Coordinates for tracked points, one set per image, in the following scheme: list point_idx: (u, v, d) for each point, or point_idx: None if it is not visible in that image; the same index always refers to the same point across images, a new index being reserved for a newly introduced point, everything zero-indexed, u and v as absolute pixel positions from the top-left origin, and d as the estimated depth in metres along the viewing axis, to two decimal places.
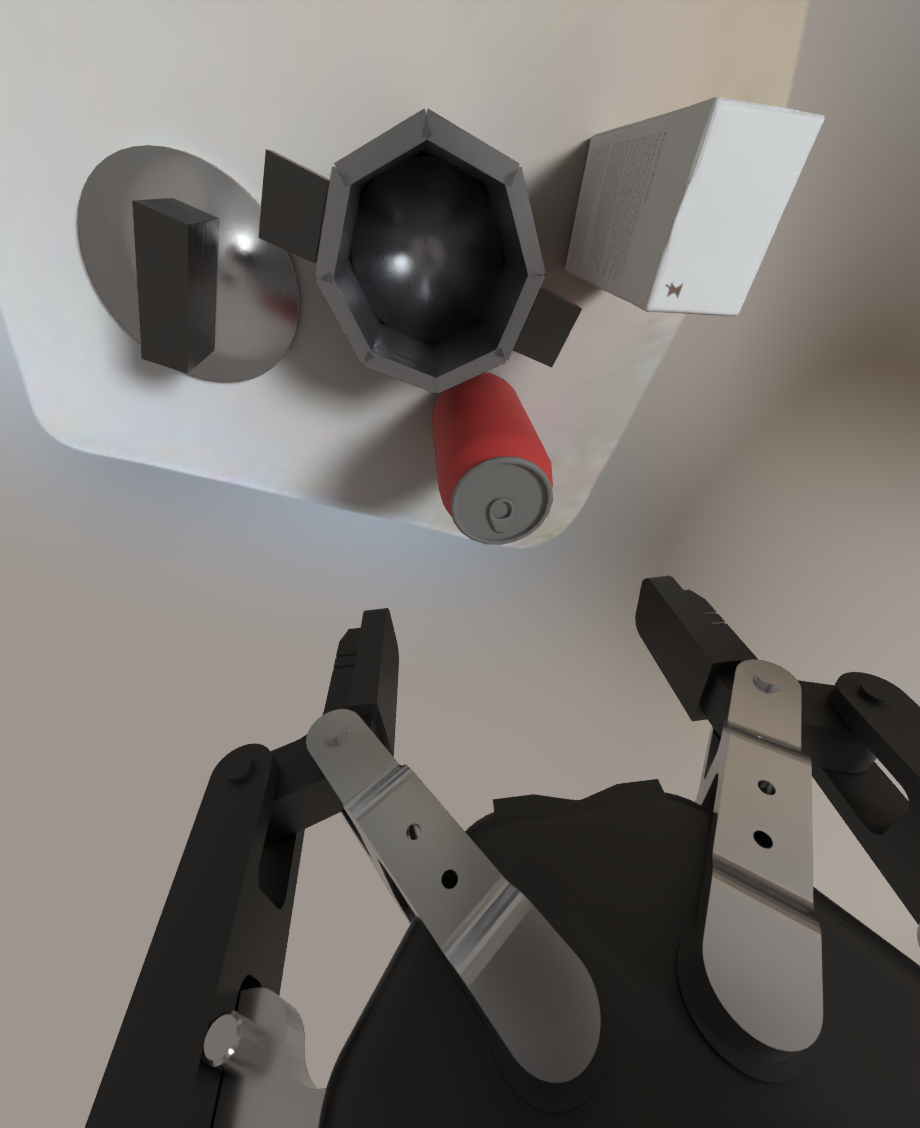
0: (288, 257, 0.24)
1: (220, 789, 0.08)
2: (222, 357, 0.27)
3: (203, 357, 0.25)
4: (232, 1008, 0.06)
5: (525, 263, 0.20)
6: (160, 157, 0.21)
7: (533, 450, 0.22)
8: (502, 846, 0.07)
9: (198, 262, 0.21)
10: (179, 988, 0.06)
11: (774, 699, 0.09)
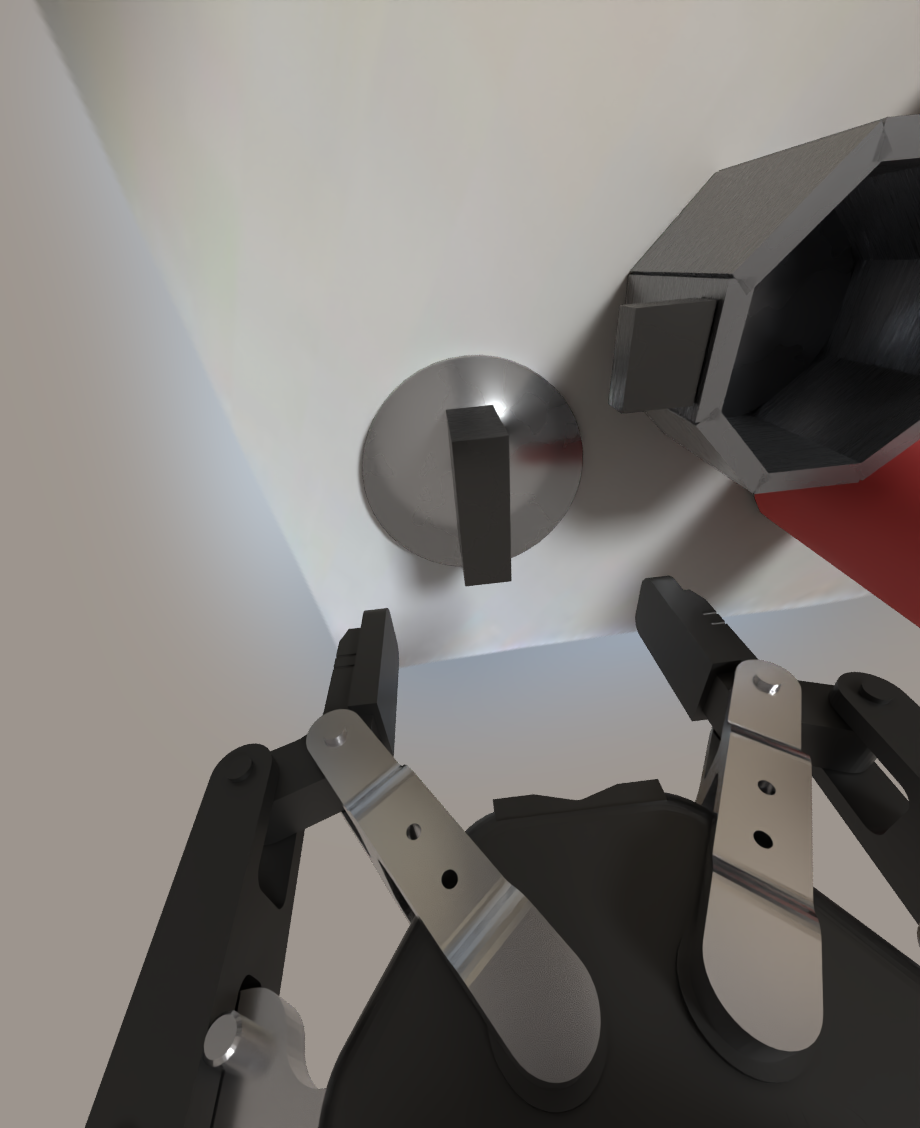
0: (567, 405, 0.20)
1: (220, 789, 0.08)
2: None
3: None
4: (232, 1008, 0.06)
5: None
6: (430, 378, 0.19)
7: None
8: (502, 846, 0.07)
9: None
10: (179, 988, 0.06)
11: (774, 699, 0.09)
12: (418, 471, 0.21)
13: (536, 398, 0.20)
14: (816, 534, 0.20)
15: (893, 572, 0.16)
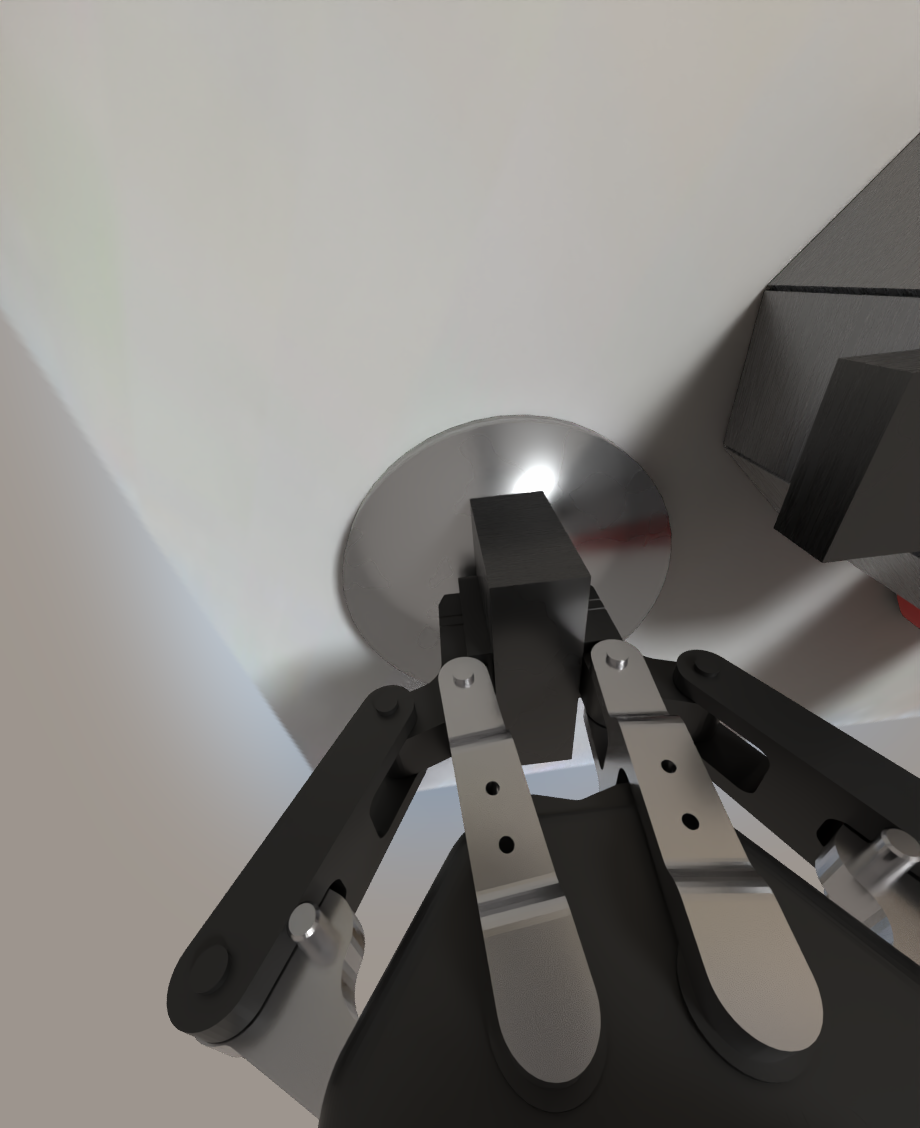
0: (655, 488, 0.13)
1: (368, 714, 0.09)
2: None
3: None
4: (319, 899, 0.07)
5: None
6: (447, 454, 0.12)
7: None
8: None
9: None
10: (290, 859, 0.07)
11: (617, 673, 0.10)
12: (426, 581, 0.14)
13: (610, 480, 0.13)
14: None
15: None
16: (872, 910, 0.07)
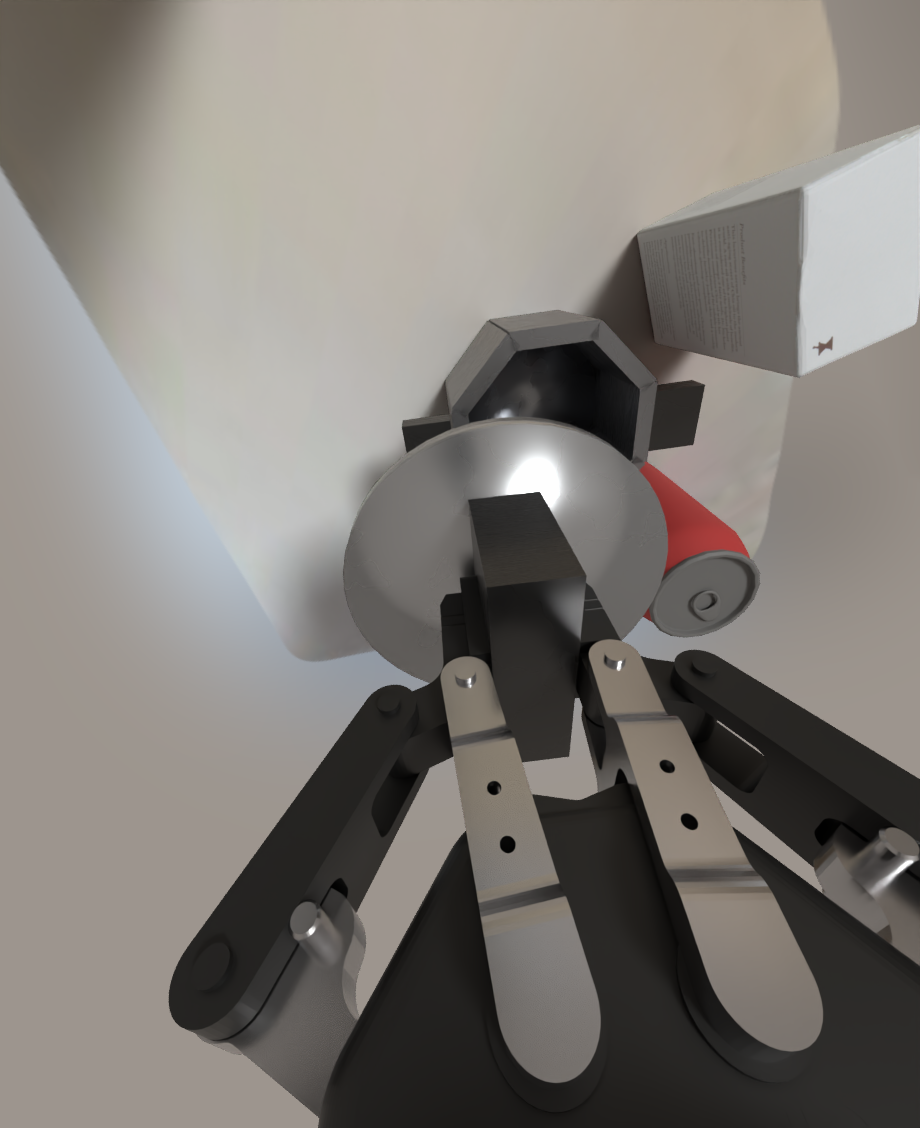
0: (651, 488, 0.13)
1: (370, 713, 0.09)
2: None
3: None
4: (320, 898, 0.07)
5: (633, 382, 0.20)
6: (446, 456, 0.12)
7: (715, 534, 0.21)
8: None
9: None
10: (292, 857, 0.07)
11: (614, 673, 0.10)
12: (426, 581, 0.14)
13: (607, 481, 0.13)
14: None
15: None
16: (870, 909, 0.07)
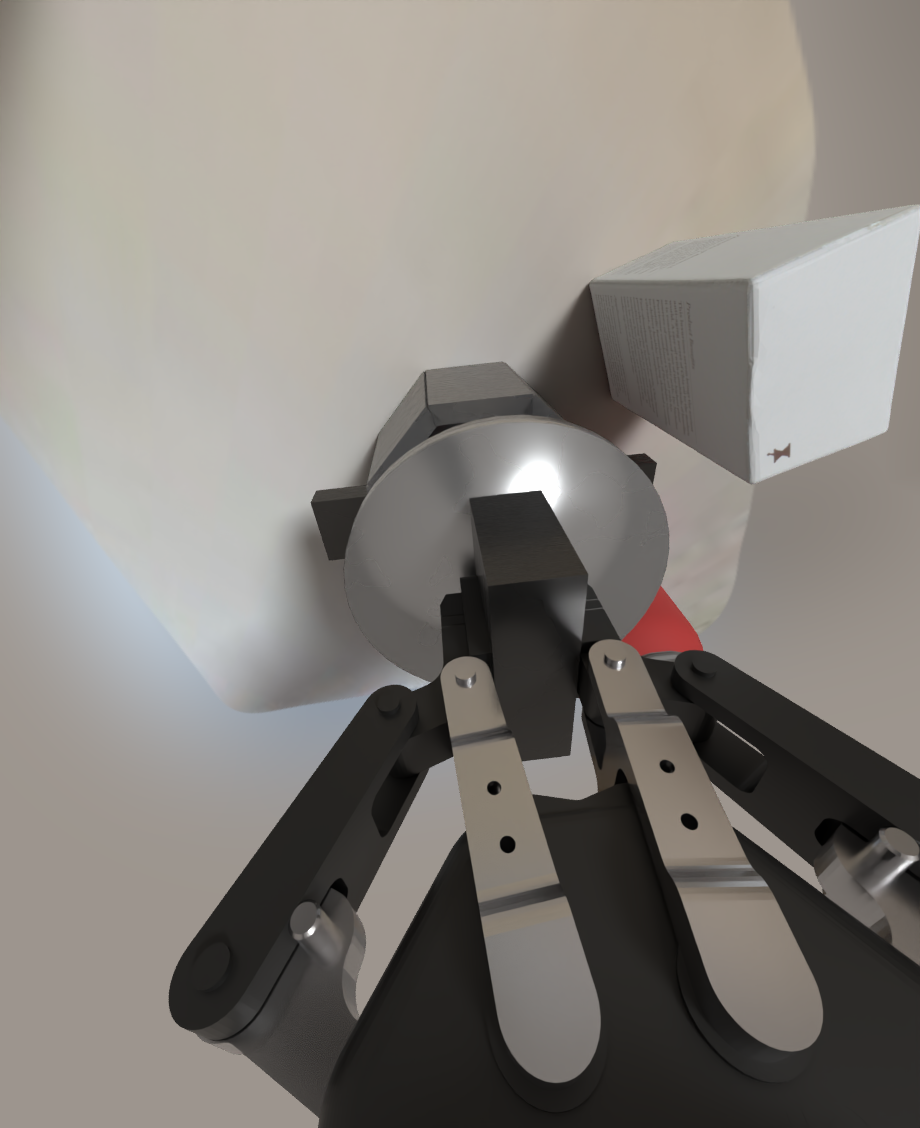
0: (652, 487, 0.13)
1: (370, 713, 0.09)
2: None
3: None
4: (320, 898, 0.07)
5: None
6: (447, 454, 0.12)
7: (665, 631, 0.19)
8: None
9: None
10: (292, 857, 0.07)
11: (614, 673, 0.10)
12: (427, 579, 0.14)
13: (608, 479, 0.13)
14: None
15: None
16: (870, 909, 0.07)
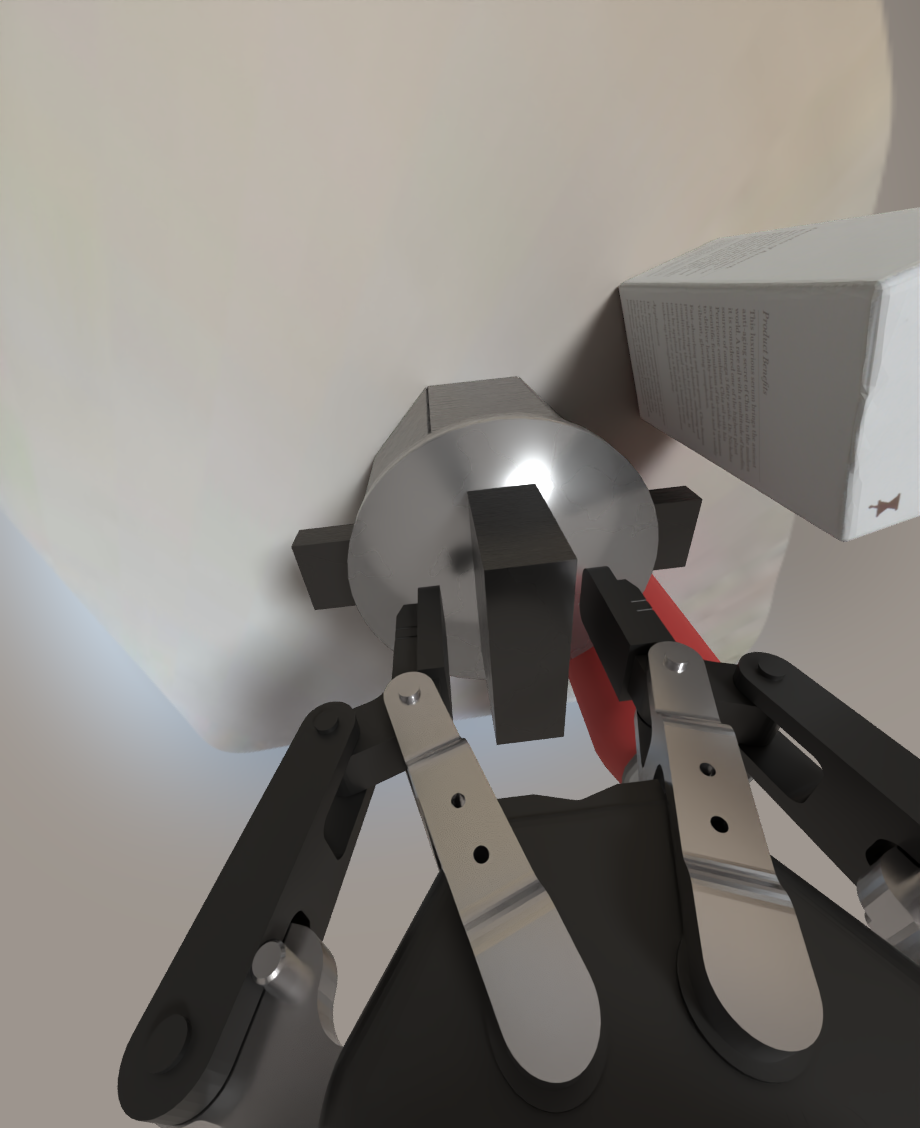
0: (641, 480, 0.14)
1: (308, 736, 0.09)
2: None
3: None
4: (281, 936, 0.07)
5: None
6: (445, 449, 0.13)
7: None
8: None
9: None
10: (244, 902, 0.07)
11: (678, 676, 0.10)
12: (427, 570, 0.15)
13: (599, 473, 0.14)
14: None
15: (585, 721, 0.19)
16: (909, 931, 0.07)
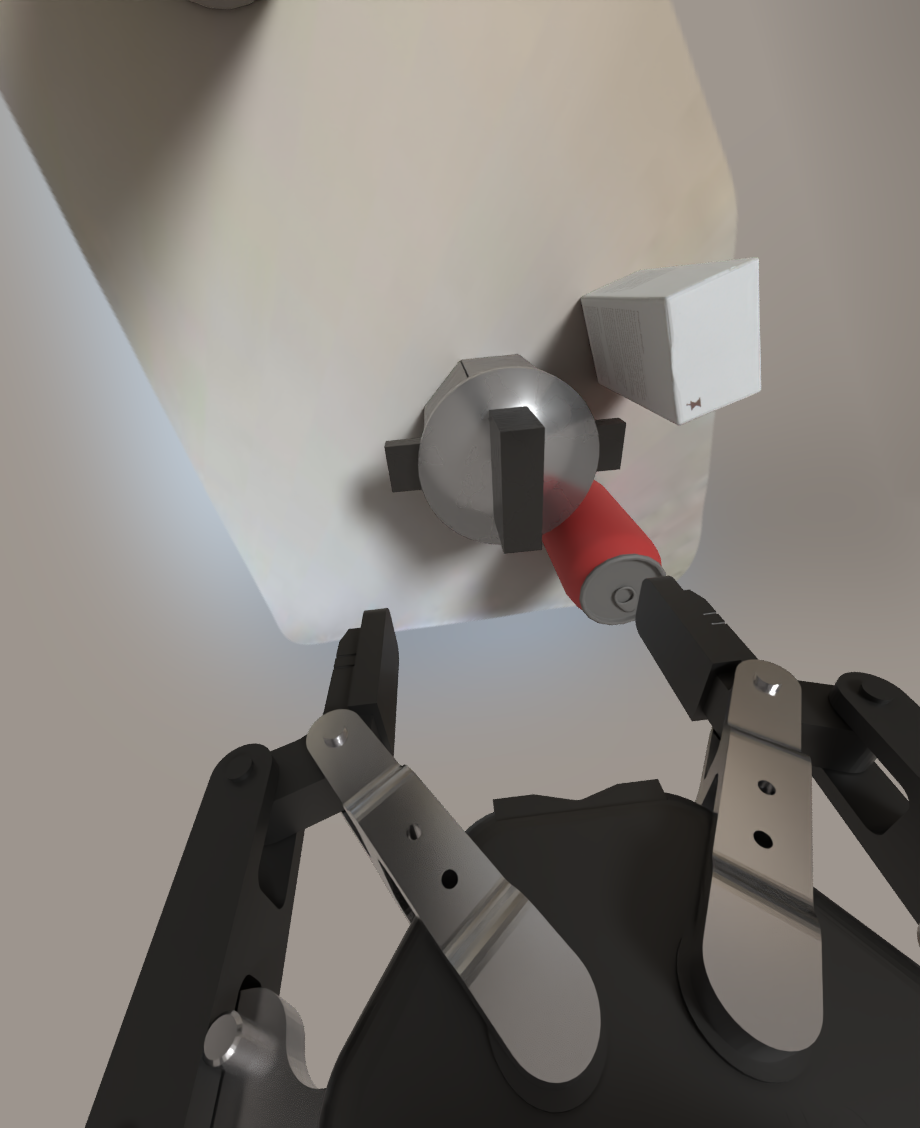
0: (587, 406, 0.25)
1: (220, 789, 0.08)
2: None
3: None
4: (232, 1008, 0.06)
5: None
6: (478, 384, 0.24)
7: (631, 542, 0.26)
8: (502, 846, 0.07)
9: None
10: (179, 988, 0.06)
11: (774, 699, 0.09)
12: (463, 461, 0.26)
13: (562, 400, 0.24)
14: (548, 553, 0.33)
15: (559, 575, 0.30)
16: None
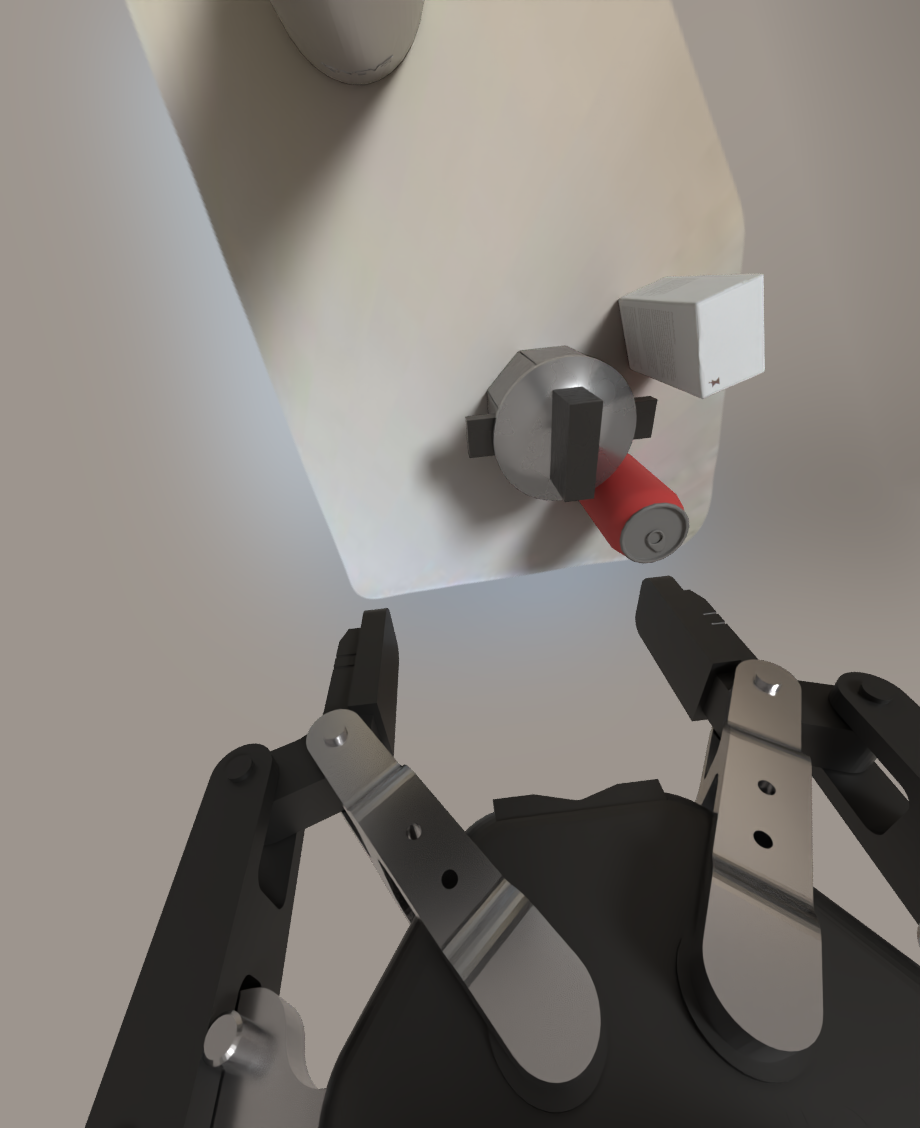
0: (628, 386, 0.32)
1: (220, 789, 0.08)
2: None
3: None
4: (232, 1008, 0.06)
5: None
6: (546, 369, 0.30)
7: (661, 494, 0.34)
8: (502, 846, 0.07)
9: None
10: (179, 988, 0.06)
11: (774, 699, 0.09)
12: (530, 431, 0.33)
13: (609, 382, 0.31)
14: (587, 511, 0.40)
15: (600, 525, 0.37)
16: None
